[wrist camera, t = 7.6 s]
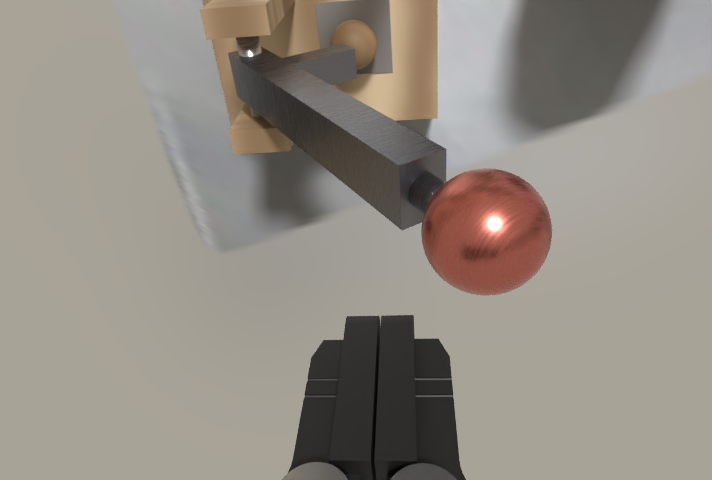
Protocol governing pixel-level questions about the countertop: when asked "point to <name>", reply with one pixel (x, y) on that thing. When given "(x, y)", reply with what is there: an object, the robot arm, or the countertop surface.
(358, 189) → the lever
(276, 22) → the cracker base
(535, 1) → the countertop surface
